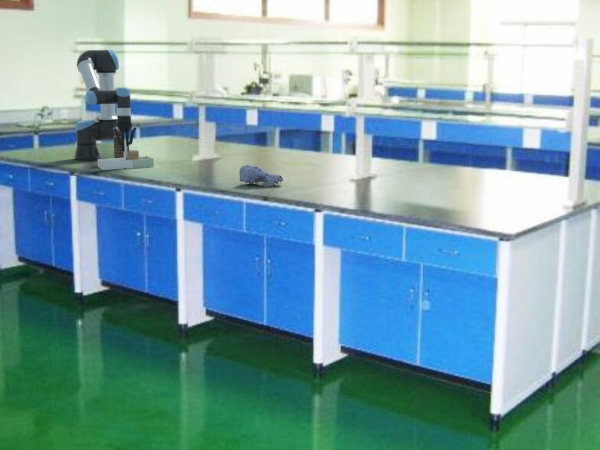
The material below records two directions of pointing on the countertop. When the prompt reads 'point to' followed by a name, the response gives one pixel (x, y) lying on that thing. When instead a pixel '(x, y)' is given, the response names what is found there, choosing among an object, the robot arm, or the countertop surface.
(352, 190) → the countertop surface
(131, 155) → the walnut block
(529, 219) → the countertop surface
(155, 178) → the countertop surface
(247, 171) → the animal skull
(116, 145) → the miniature building
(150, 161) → the lane box
